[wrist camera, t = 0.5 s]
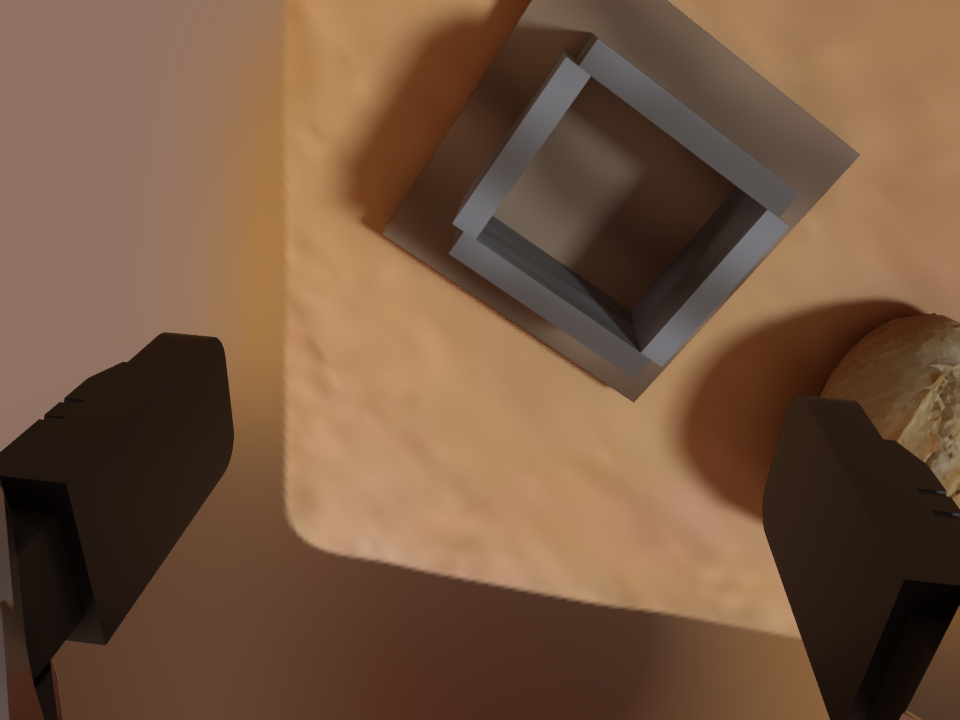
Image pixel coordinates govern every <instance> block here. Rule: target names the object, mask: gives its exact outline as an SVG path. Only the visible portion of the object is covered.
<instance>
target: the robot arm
mask: <svg viewBox="0 0 960 720" xmlns="http://www.w3.org/2000/svg"><path fill="white" fill-rule="evenodd" d="M233 441H234V429H233V420H232V411H231V402H230V393H229V385H228V376H227V367H226V359H225V352H224V348H223V345H222V343H221V342H220V340H219V339H218V338H216V337H209V336H198V335H187V334H178V333H166V332H165V333H161V334H160V335H158V336H157V337H156V338H155V339H154V340H152V341H151V342H150V343H149V344H148V345H147V346H146V347H145V348H143V349H142V350H141V351H140V352H139V353H138V354H137V355H136V356H134V357H133V358H132V359H131V360H130V361H129V362H122V363H120V364H117V365H115V366H113V367H111V368H109V369H107V370H105V371H102V372H100V373H98V374H96V375H94V376H92V377H90V378H88V379H87V380H85V381H84V382H83V383H82V384H81V385H79V386H78V387H77V388H76V389H75V390H73V391H72V392H71V393H70V394H69V395H68V396H66V397H65V400H64V403H63V402H62V403H61V402H59V403H58V404H57V405H56V406H54V407H53V408H52V409H51V410H50V411H49V412H47V413H46V414H45V416H44V420H40V419H39V420H38V421H37V422H35V423H34V424H33V425H32V426H31V427H30V428H28V429H27V430H26V431H25V432H24V433H22V434H21V435H20V436H19V437H18V438H17V439H16V440H14V441H13V442H12V443H11V444H10V445H8V446H7V447H6V448H5V449H3V450H2V451H1V452H0V720H63V716H62V708H61V701H60V695H59V687H58V680H57V674H56V671H55V667H54V663H53V660H52V658H53V656H54V655H55V653H56V652H57V651H58V650H59V648H60V647H61V646H62V644H63V643H64V642H65V640H69V641H78V642H85V643H93V644H101V645H106V644H107V643H108V641H109V640H110V638H111V637H112V635H113V634H114V632H115V631H116V629H117V628H118V627H119V625H120V624H121V622H122V621H123V619H124V618H125V616H126V615H127V614H128V612H129V611H130V609H131V608H132V606H133V605H134V603H135V602H136V600H137V599H138V598H139V596H140V595H141V593H142V592H143V590H144V589H145V587H146V586H147V584H148V583H149V582H150V580H151V579H152V577H153V576H154V574H155V573H156V571H157V570H158V569H159V567H160V566H161V564H162V563H163V561H164V560H165V558H166V557H167V556H168V554H169V553H170V551H171V550H172V548H173V547H174V545H175V544H176V542H177V541H178V540H179V538H180V537H181V535H182V534H183V532H184V531H185V529H186V528H187V526H188V525H189V524H190V522H191V521H192V519H193V518H194V516H195V515H196V513H197V512H198V511H199V509H200V508H201V506H202V505H203V503H204V502H205V500H206V499H207V497H208V496H209V494H210V493H211V492H212V490H213V489H214V487H215V486H216V484H217V483H218V482H219V480H220V479H221V477H222V476H223V474H224V473H225V471H226V469H227V467H228V464H229V461H230V458H231V454H232V449H233ZM763 525H764V531H765V534H766V537H767V540H768V543H769V546H770V549H771V552H772V554H773V557H774V560H775V563H776V566H777V569H778V572H779V574H780V577H781V580H782V583H783V586H784V589H785V592H786V595H787V597H788V600H789V603H790V606H791V609H792V612H793V615H794V617H795V620H796V623H797V626H798V629H799V632H800V635H801V637H802V640H803V643H804V646H805V649H806V652H807V655H808V658H809V660H810V663H811V666H812V669H813V672H814V675H815V678H816V680H817V683H818V686H819V689H820V692H821V695H822V697H823V701H824V703H825V706H826V709H827V712H828V715H829V718H830V720H960V509H959V507H958V506H957V505H956V503H955V502H954V500H953V499H952V498H951V497H948V496H947V491H946V489H945V488H944V487H943V485H942V484H941V483H940V481H939V480H938V478H937V477H936V476H935V474H934V473H933V472H932V470H931V469H930V467H929V466H928V465H927V464H926V463H925V462H923V461H922V460H921V459H919V458H918V457H916V456H915V455H914V454H912V453H911V452H910V451H908V450H907V449H906V448H904V447H903V446H902V445H900V444H899V443H898V442H896V441H895V440H886V439H883V438H882V437H881V435H880V434H879V432H878V431H877V429H876V428H875V426H874V425H873V423H872V422H871V420H870V419H869V417H868V416H867V414H866V413H865V411H864V410H863V408H862V407H861V405H860V404H859V403H858V402H857V401H855V400H847V399H837V398H827V397H816V396H806V395H796V396H795V397H794V398H793V399H792V400H791V402H790V404H789V406H788V408H787V411H786V415H785V418H784V422H783V425H782V429H781V433H780V436H779V440H778V443H777V447H776V450H775V454H774V457H773V461H772V465H771V468H770V472H769V475H768V479H767V482H766V486H765V490H764V496H763Z"/></svg>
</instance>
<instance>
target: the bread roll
mask: <svg viewBox="0 0 960 720" xmlns="http://www.w3.org/2000/svg"><path fill="white" fill-rule="evenodd" d="M820 397H827V398H837V399H847V400H855V401H857V402H858V403H859V404H860V405H861V407H862V408H863V410H864V411H865V413H866V414H867V416H868V417H869V419H870V420H871V422H872V423H873V425H874V426H875V428H876V429H877V431H878V432H879V434H880V435H881V437H882V438H883V439H886V440H895V441H896V442H898V443H899V444H900V445H902V446H903V447H904V448H906V449H907V450H908V451H910V452H911V453H912V454H914V455H915V456H916V457H918V458H919V459H921V460H922V461H923V462H925V463H926V464H927V465H928V466H929V467H930V469H931V470H932V472H933V473H934V474H935V476H936V477H937V478H938V480H939V481H940V483H941V484H942V485H943V487H944V488H945V489H946V491H947V496H948V497H951V498H952V499H953V500H954V502H955V503H956V505H957V506H958V507H959V509H960V323H958V322H956V321H954V320H952V319H950V318H948V317H945V316H943V315H936V314H935V313H933V314H921V315H917V316H909V317H903V318H898V319H894V320H891V321H889V322H887V323H885V324H883V325H881V326H879V327H878V328H876V329H875V330H873V331H871V332H870V333H869V334H867V335H866V336H865V337H864V338H862V339H861V340H860V341H859V342H858V343H857V344H856V345H855V346H854V347H852V348H851V349H850V351H849V352H848V353H847V354H846V355H845V356H844V358H843V359H842V360H841V361H840V363H839V364H838V366H837V367H836V368H835V370H834V371H833V372H832V374H831V375H830V377H829V379H828V381H827V383H826V385H825V387H824V389H823V391H822V393H821V395H820Z"/></svg>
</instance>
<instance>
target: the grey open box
mask: <svg viewBox="0 0 960 720" xmlns="http://www.w3.org/2000/svg"><path fill="white" fill-rule="evenodd" d="M859 156H860V154H859V153H857V152H856V151H855V150H854V149H852V148H851V147H850V146H849V145H847V144H846V143H845V142H844V141H842V140H841V139H840V138H839V137H837V136H836V135H835V134H834V133H832V132H831V131H830V130H829V129H827V128H826V127H825V126H824V125H822V124H821V123H820V122H819V121H817V120H816V119H815V118H814V117H812V116H811V115H810V114H809V113H807V112H806V111H805V110H804V109H802V108H801V107H800V106H799V105H797V104H796V103H795V102H794V101H792V100H791V99H790V98H789V97H787V96H786V95H785V94H784V93H782V92H781V91H780V90H779V89H777V88H776V87H775V86H774V85H772V84H771V83H770V82H769V81H767V80H766V79H765V78H764V77H762V76H761V75H760V74H759V73H757V72H756V71H755V70H754V69H752V68H751V67H750V66H749V65H747V64H746V63H745V62H744V61H742V60H741V59H740V58H739V57H737V56H736V55H735V54H734V53H732V52H731V51H730V50H729V49H727V48H726V47H725V46H724V45H722V44H721V43H720V42H719V41H717V40H716V39H715V38H714V37H712V36H711V35H710V34H709V33H707V32H706V31H705V30H704V29H702V28H701V27H700V26H699V25H697V24H696V23H695V22H694V21H692V20H691V19H690V18H689V17H687V16H686V15H685V14H684V13H682V12H681V11H680V10H679V9H677V8H676V7H675V6H674V5H672V4H671V3H670V2H668V1H667V0H532V1H531V3H530V4H529V6H528V7H527V9H526V10H525V12H524V14H523V15H522V17H521V18H520V20H519V21H518V23H517V24H516V26H515V28H514V29H513V31H512V32H511V34H510V35H509V37H508V39H507V40H506V42H505V43H504V45H503V46H502V48H501V49H500V51H499V53H498V54H497V56H496V57H495V59H494V60H493V62H492V63H491V65H490V67H489V68H488V70H487V71H486V73H485V74H484V76H483V77H482V79H481V81H480V82H479V84H478V85H477V87H476V88H475V90H474V92H473V93H472V95H471V96H470V98H469V99H468V101H467V102H466V104H465V106H464V107H463V109H462V110H461V112H460V113H459V115H458V116H457V118H456V120H455V121H454V123H453V124H452V126H451V127H450V129H449V130H448V132H447V134H446V135H445V137H444V138H443V140H442V141H441V143H440V144H439V146H438V148H437V149H436V151H435V152H434V154H433V155H432V157H431V159H430V160H429V162H428V163H427V165H426V166H425V168H424V169H423V171H422V173H421V174H420V176H419V177H418V179H417V180H416V182H415V183H414V185H413V187H412V188H411V190H410V191H409V193H408V194H407V196H406V197H405V199H404V201H403V202H402V204H401V205H400V207H399V208H398V210H397V211H396V213H395V215H394V216H393V218H392V219H391V221H390V222H389V224H388V226H387V227H386V229H385V230H384V232H383V233H382V235H384V236H385V237H387V238H388V239H390V240H391V241H393V242H394V243H396V244H397V245H399V246H400V247H402V248H403V249H405V250H406V251H408V252H409V253H411V254H412V255H414V256H415V257H417V258H418V259H420V260H421V261H423V262H424V263H426V264H427V265H429V266H430V267H432V268H433V269H435V270H436V271H438V272H439V273H441V274H442V275H444V276H445V277H447V278H448V279H450V280H451V281H453V282H454V283H456V284H457V285H459V286H460V287H462V288H463V289H465V290H466V291H468V292H469V293H471V294H472V295H474V296H475V297H477V298H478V299H480V300H481V301H483V302H484V303H486V304H487V305H489V306H490V307H492V308H493V309H495V310H496V311H498V312H499V313H501V314H502V315H504V316H505V317H507V318H508V319H510V320H511V321H513V322H514V323H516V324H517V325H519V326H520V327H522V328H523V329H525V330H526V331H528V332H529V333H531V334H532V335H534V336H535V337H537V338H538V339H540V340H541V341H543V342H544V343H546V344H547V345H549V346H550V347H552V348H553V349H555V350H556V351H558V352H559V353H561V354H562V355H564V356H565V357H566V358H568V359H569V360H571V361H572V362H574V363H575V364H577V365H578V366H580V367H581V368H583V369H584V370H586V371H587V372H589V373H590V374H592V375H593V376H595V377H596V378H598V379H599V380H601V381H602V382H604V383H605V384H607V385H608V386H610V387H611V388H613V389H614V390H616V391H617V392H619V393H620V394H622V395H623V396H625V397H626V398H628V399H629V400H631V401H632V402H635V401H636V400H637V399H638V398H639V396H640V395H641V394H642V393H643V392H644V391H645V390H646V389H647V388H648V387H649V385H650V384H651V383H652V382H653V381H654V380H655V379H656V378H657V377H658V376H659V375H660V373H661V372H662V371H663V370H664V369H665V368H666V367H667V366H668V365H669V364H670V363H671V361H672V360H673V359H674V358H675V357H676V356H677V355H678V354H679V353H680V352H681V350H682V349H683V348H684V347H685V346H686V345H687V344H688V343H689V342H690V341H691V340H692V338H693V337H694V336H695V335H696V334H697V333H698V332H699V331H700V330H701V329H702V327H703V326H704V325H705V324H706V323H707V322H708V321H709V320H710V319H711V318H712V317H713V315H714V314H715V313H716V312H717V311H718V310H719V309H720V308H721V307H722V306H723V304H724V303H725V302H726V301H727V300H728V299H729V298H730V297H731V296H732V295H733V294H734V292H735V291H736V290H737V289H738V288H739V287H740V286H741V285H742V284H743V283H744V282H745V280H746V279H747V278H748V277H749V276H750V275H751V274H752V273H753V272H754V271H755V269H756V268H757V267H758V266H759V265H760V264H761V263H762V262H763V261H764V260H765V259H766V257H767V256H768V255H769V254H770V253H771V252H772V251H773V250H774V249H775V248H776V246H777V245H778V244H779V243H780V242H781V241H782V240H783V239H784V238H785V237H786V236H787V234H788V233H789V232H790V231H791V230H792V229H793V228H794V227H795V226H796V225H797V224H798V222H799V221H800V220H801V219H802V218H803V217H804V216H805V215H806V214H807V213H808V211H809V210H810V209H811V208H812V207H813V206H814V205H815V204H816V203H817V202H818V201H819V199H820V198H821V197H822V196H823V195H824V194H825V193H826V192H827V191H828V190H829V188H830V187H831V186H832V185H833V184H834V183H835V182H836V181H837V180H838V179H839V178H840V176H841V175H842V174H843V173H844V172H845V171H846V170H847V169H848V168H849V167H850V165H851V164H852V163H853V162H854V161H855V160H856V159H857V158H858V157H859Z"/></svg>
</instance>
